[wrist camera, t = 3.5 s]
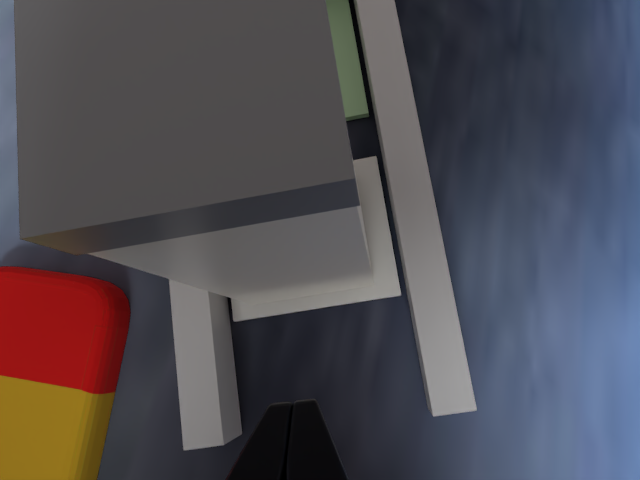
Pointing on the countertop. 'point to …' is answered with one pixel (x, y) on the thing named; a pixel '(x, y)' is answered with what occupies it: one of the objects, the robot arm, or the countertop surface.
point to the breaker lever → (190, 143)
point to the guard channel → (412, 236)
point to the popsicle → (57, 371)
